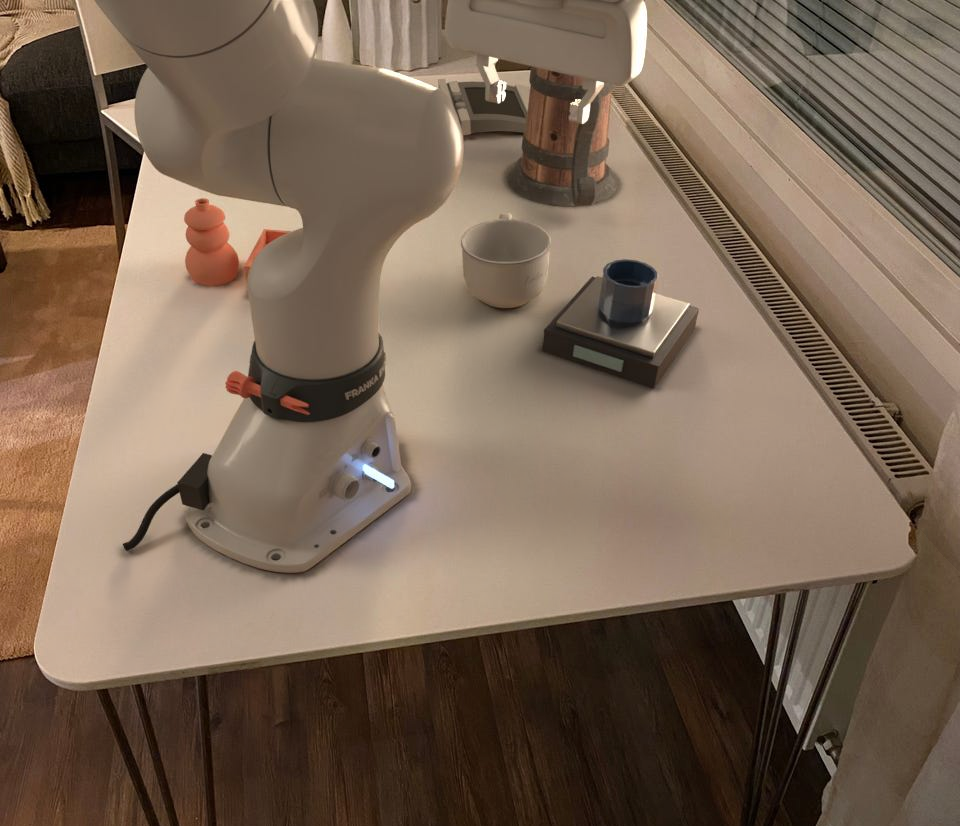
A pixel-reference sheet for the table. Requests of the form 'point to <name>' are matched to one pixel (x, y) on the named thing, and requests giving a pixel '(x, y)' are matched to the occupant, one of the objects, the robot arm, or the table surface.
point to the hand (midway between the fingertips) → (536, 110)
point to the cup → (627, 290)
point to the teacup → (505, 261)
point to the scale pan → (628, 336)
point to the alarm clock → (487, 107)
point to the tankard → (563, 144)
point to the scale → (618, 349)
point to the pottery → (215, 246)
